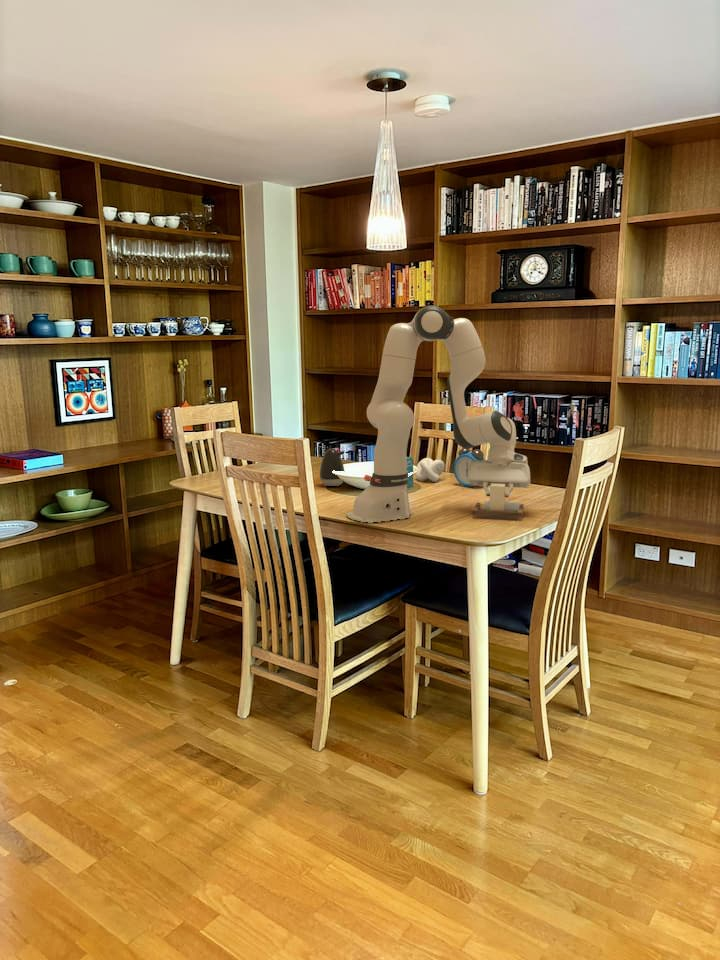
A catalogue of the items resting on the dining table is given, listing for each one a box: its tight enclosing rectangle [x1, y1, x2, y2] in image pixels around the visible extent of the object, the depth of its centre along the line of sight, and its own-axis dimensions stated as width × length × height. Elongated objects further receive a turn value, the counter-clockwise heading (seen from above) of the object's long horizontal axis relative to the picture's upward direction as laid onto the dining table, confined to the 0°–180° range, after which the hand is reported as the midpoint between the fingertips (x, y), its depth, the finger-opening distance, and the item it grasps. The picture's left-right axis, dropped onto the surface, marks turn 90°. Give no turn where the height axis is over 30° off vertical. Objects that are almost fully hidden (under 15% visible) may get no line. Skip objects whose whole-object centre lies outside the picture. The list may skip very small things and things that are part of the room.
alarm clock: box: [452, 447, 486, 488], centre depth 293 cm, size 13×6×15 cm, turn 44°
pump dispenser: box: [319, 448, 345, 487], centre depth 298 cm, size 10×10×15 cm
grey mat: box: [481, 500, 521, 512], centre depth 254 cm, size 12×12×2 cm
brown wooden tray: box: [472, 502, 525, 522], centre depth 242 cm, size 12×15×4 cm
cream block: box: [489, 483, 506, 511], centre depth 240 cm, size 4×4×8 cm
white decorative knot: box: [415, 457, 445, 483], centre depth 304 cm, size 11×12×9 cm
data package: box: [407, 456, 414, 489], centre depth 291 cm, size 12×4×12 cm, turn 147°
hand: (497, 496), depth 239 cm, fingers closed on cream block, 4 cm apart
